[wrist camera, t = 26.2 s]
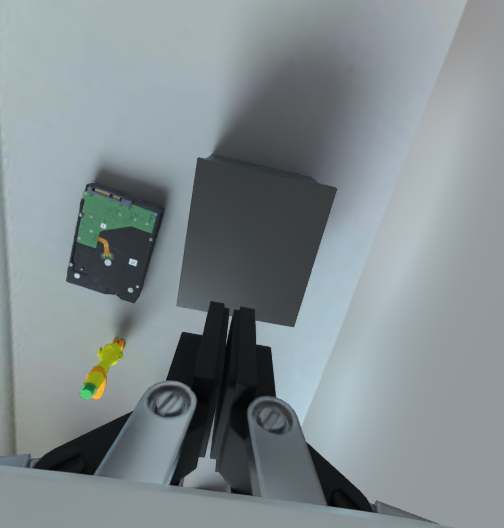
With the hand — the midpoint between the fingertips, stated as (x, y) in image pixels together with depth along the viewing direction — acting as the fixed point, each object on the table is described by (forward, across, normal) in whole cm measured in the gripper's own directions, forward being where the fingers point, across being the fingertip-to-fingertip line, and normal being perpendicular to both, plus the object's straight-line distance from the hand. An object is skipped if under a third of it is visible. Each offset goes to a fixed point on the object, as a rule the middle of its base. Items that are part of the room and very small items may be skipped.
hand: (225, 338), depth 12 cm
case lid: (+23, -2, +4) cm, 23 cm away
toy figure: (+35, +15, +30) cm, 48 cm away
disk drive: (+35, +16, +12) cm, 40 cm away
